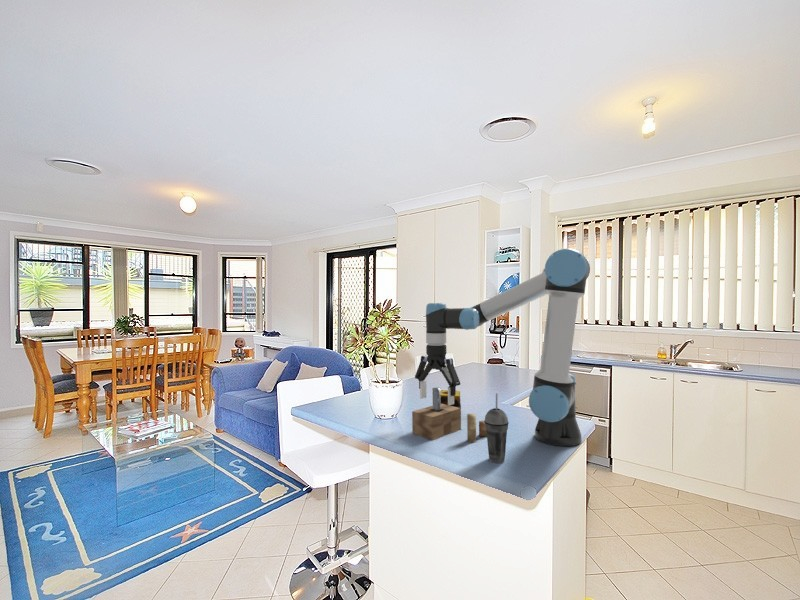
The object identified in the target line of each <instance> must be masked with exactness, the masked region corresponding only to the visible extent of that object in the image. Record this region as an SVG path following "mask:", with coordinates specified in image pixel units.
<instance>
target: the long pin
mask: <svg viewBox="0 0 800 600" xmlns="http://www.w3.org/2000/svg"><path fill="white" fill-rule="evenodd" d="M441 390H442V389H441V388H440V387H432V406H433V411H435V412H440V411H441Z"/></svg>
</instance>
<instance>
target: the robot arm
mask: <svg viewBox="0 0 800 600" xmlns="http://www.w3.org/2000/svg"><path fill="white" fill-rule="evenodd" d="M590 272H591V265H590V263H589V261H588V259H587V258H586V256H585V255H584V254H583V253H582V252H580V251H579V250H577V249H572V248H561V249H558V250H555V251H554V252H552V253H551V254H550V255H549V256H548V258H547V260H546V262H545V264H544V269H542V272H541V273H539V274H538V275H536V276H534V277H531V278H529V279H527V280H525V281H523V282H520V283H519V284H517V285H515V286H512V287H510V288H509V289H507V290H505V291H502V292H501V293H499V294H496V295H494V296H493V297H489V298H488V299H486V300H484V301H482V302H480V303H478V304H475V305H474V306H471V307H463V308H462V307H460V308H457V307H456V308H452V307H450V308H448V307H447V304H446V303H444V302H440V303H439V302H435V303H434V302H429V303H427V304H426V309H425V325H426V326H425V329H426V330H425V332H426V333H425V342H426V347H425V348H426V350H425V351H426V355H421V356H420V361H419V365H418V368H417V370H416V372H415V375H414V378H415V379H416V380H418V389H419V391H420V394H419V395H420V396H419V397H420V399H426V398H427V380H426V379H427V377H428V376H429V374H430V372H431V371H432V370H436V371H439V372H440V373H441V374H442V376H443V377H444V379H445V381H446V383H447V384H448V385H449V386H447V390H448V405H452V404H454V396H455V394H456V391H457V389H456V387H457V386H460V385H461V381H460V378H459V376H458V374H457V371H456V369H455V365H454V360H453V358H447V357H446V355H447V345H446V344H447V329H450V330H452V329H453V330H465V331H467V330H476V329H477V328H478V327H480V326H482V325H484V324H485V323H487V322H489V321H491V320H493V319H495V318H498V317H500V316H502V315H505V314H507V313H509V312H512V311H513V310H516V309H518V308H521V307H522V306H525V305H527V304H530V303H531V302H533V301H536V300H538V299H539V298H542V297H544V296H546V295H547V296H548V303H547V311H546V320H545V329H544V334H543V335H544V336H543V343H542V352H541V360H540V368H539V370H538V371H536V372H535V373H534V376H533V385H532V390H531V392H530V394H529V396H528V405H529V408H530V411H531V413H533V414H534V416H535V417H537V418H538V420H537V423H536V426H535V429H534V437H535V438H536V440H537V441H539V442H542V443H545V444H548V445H553V446H559V447H571V446H573V447H575V446H577V445H580V444H581V443H582V441H583V440H582V432H581V429H580V427H579V424H578V421H577V418H576V417H577V416H576V410H577V409H576V406H577V405H576V385H577V382H576V377H575V375H573V374H571V373H570V368H571V361H572V351H573V346H574V345H573V344H574V336H575V329H576V322H577V313H578V305H579V299H580V298H582V297H583V296H584V295H585V293H586V285H587V284H586V283H587V279H588V277H590Z"/></svg>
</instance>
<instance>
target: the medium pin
mask: <svg viewBox="0 0 800 600" xmlns="http://www.w3.org/2000/svg"><path fill="white" fill-rule="evenodd" d="M466 421H467V422H466V423H467V424H466V426H467V427H466V431H467V432H466V433H467V434H466V435H467V436H466V438H467V442H469V443H476V442H477V415H476V413H467V414H466Z"/></svg>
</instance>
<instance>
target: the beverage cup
mask: <svg viewBox="0 0 800 600" xmlns="http://www.w3.org/2000/svg"><path fill="white" fill-rule="evenodd" d="M484 416H485V417H484V420H483V421H484V422H485V427H486V432H487V437H486V440H487V441H486V442H487V450H488V451H487V453H488V458H489V459H488V460H489V461H490V462H491V463H494V464H503V463H504V462H505V458H506V450H507V449H506V447H507V435H508V429H509V424H510V423H509V419H508V416H507V414H506V413H505V411H504V410H503V409H500V408H498V393H495V407H494V408H491V409H489V410H488V411H487V412H486V414H485V415H484Z"/></svg>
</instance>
